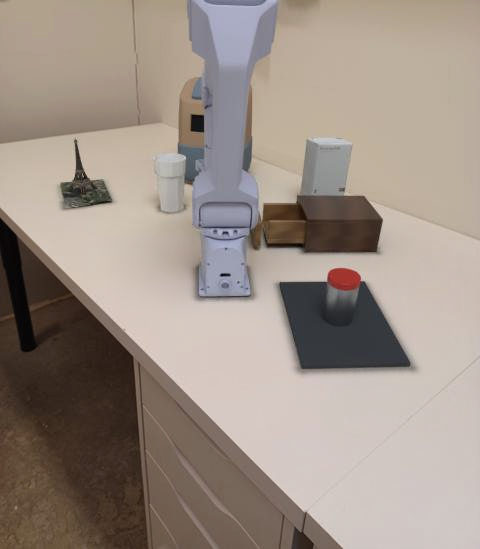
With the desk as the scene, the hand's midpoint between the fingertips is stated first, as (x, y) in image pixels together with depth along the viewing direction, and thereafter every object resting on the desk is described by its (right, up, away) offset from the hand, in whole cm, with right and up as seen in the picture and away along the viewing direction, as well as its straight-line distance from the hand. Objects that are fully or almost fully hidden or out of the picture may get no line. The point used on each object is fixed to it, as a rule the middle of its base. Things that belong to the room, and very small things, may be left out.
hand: (220, 218), depth 88 cm
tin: (+18, -17, -20) cm, 32 cm away
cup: (-11, +4, +14) cm, 18 cm away
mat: (+18, -17, -20) cm, 32 cm away
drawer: (+10, -3, +2) cm, 11 cm away
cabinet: (+22, -4, +4) cm, 23 cm away
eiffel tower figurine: (-32, +8, +20) cm, 38 cm away
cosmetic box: (+22, +4, +18) cm, 28 cm away
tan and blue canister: (-2, +14, +32) cm, 35 cm away
